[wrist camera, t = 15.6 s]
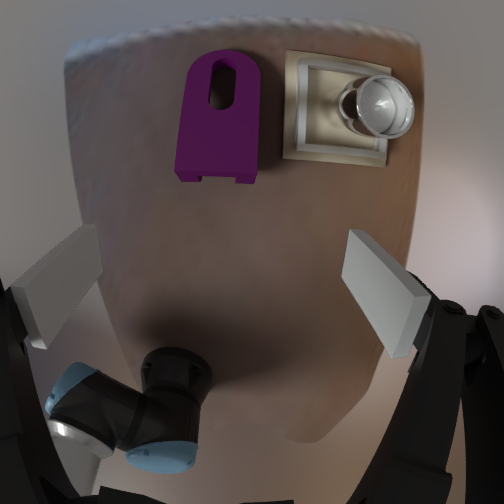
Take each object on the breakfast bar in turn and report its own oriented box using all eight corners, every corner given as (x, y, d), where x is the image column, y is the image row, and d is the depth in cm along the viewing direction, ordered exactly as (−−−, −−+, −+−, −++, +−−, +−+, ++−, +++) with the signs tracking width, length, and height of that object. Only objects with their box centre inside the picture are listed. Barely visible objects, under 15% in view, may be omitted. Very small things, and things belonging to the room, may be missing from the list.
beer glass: (366, 127, 38) (422, 134, 25) (323, 137, 39) (365, 147, 25) (354, 82, 36) (406, 69, 22) (309, 91, 36) (346, 77, 23)
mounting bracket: (197, 81, 41) (185, 187, 41) (191, 49, 33) (173, 170, 32) (257, 83, 42) (252, 190, 41) (262, 51, 33) (257, 173, 33)
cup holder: (382, 166, 42) (392, 170, 39) (281, 158, 41) (285, 161, 38) (388, 68, 35) (398, 66, 32) (285, 51, 35) (289, 46, 31)
